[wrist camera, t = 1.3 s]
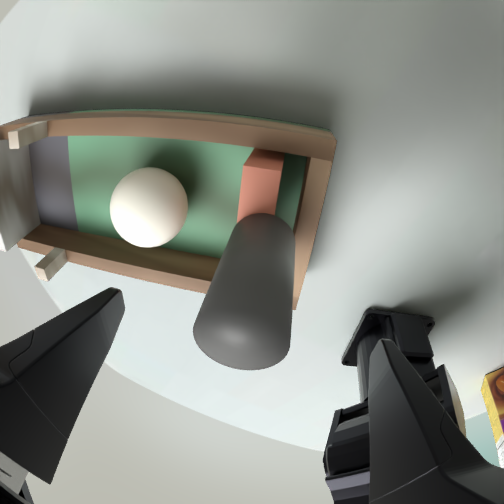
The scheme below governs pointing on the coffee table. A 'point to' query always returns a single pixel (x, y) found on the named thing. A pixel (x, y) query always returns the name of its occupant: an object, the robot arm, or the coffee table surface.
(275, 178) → the cylinder
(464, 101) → the coffee table surface
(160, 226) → the ball
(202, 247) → the tray
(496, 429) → the candy box
